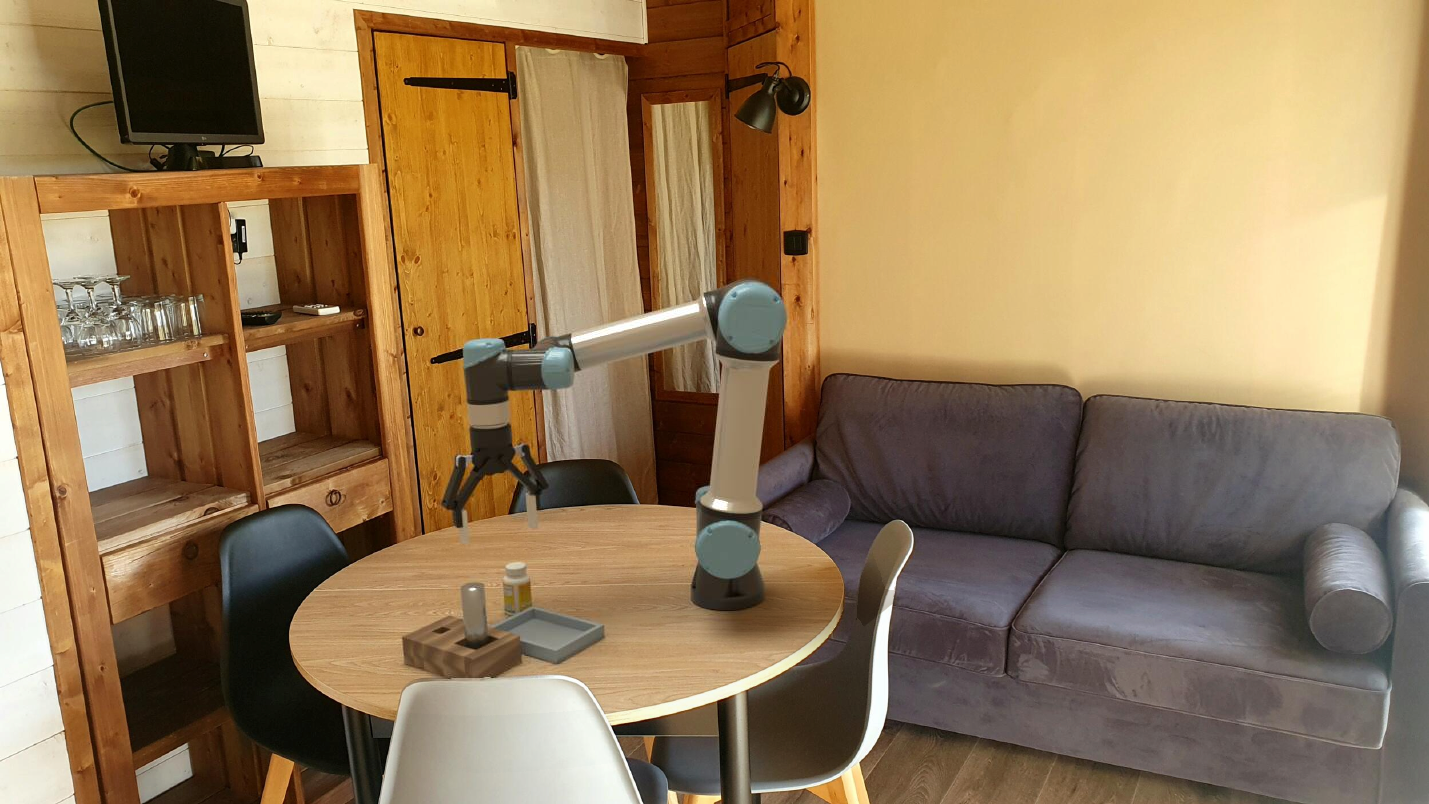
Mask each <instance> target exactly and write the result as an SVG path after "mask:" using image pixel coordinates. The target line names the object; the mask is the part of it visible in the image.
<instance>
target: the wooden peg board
mask: <svg viewBox="0 0 1429 804" xmlns="http://www.w3.org/2000/svg"><path fill="white" fill-rule="evenodd" d="M488 638H489V644H488V645H486V646H484V647H482V648H480V649H478V650H473V649H470V648H467V647H465V635H464V623H463V618H460V617H457V616H453V615H450V614H449V615H447V616H444V617H443V618H440V619H439V620H436V621H434V622H431V623H429V624H428V625H425V626H423V627H421V628H418V629H415V630H414V631H412V632H410V633H407V634H405V635H403V636H401V642H402V653H403V661H404V664H405V665H409V666H412V667H415V668H418V669H421V670H424V671H427V672H430V673H433V674H435V675H438V676H440V677H444V678H448V679H450V678H484V677H493V678H495V677H497V676H499V675H501V674H502V673H504V672H506V671H508V670H510V669H511V668H514V667H515V666H517V665H519V664H521V663H522V662H523V660H522V659H523V658H522V657H523V656H522V654H521V642H520V635H516V634H513V633H509V632H506V631H502V630H499V629H496V628H492V627H490V626H488Z"/></svg>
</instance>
